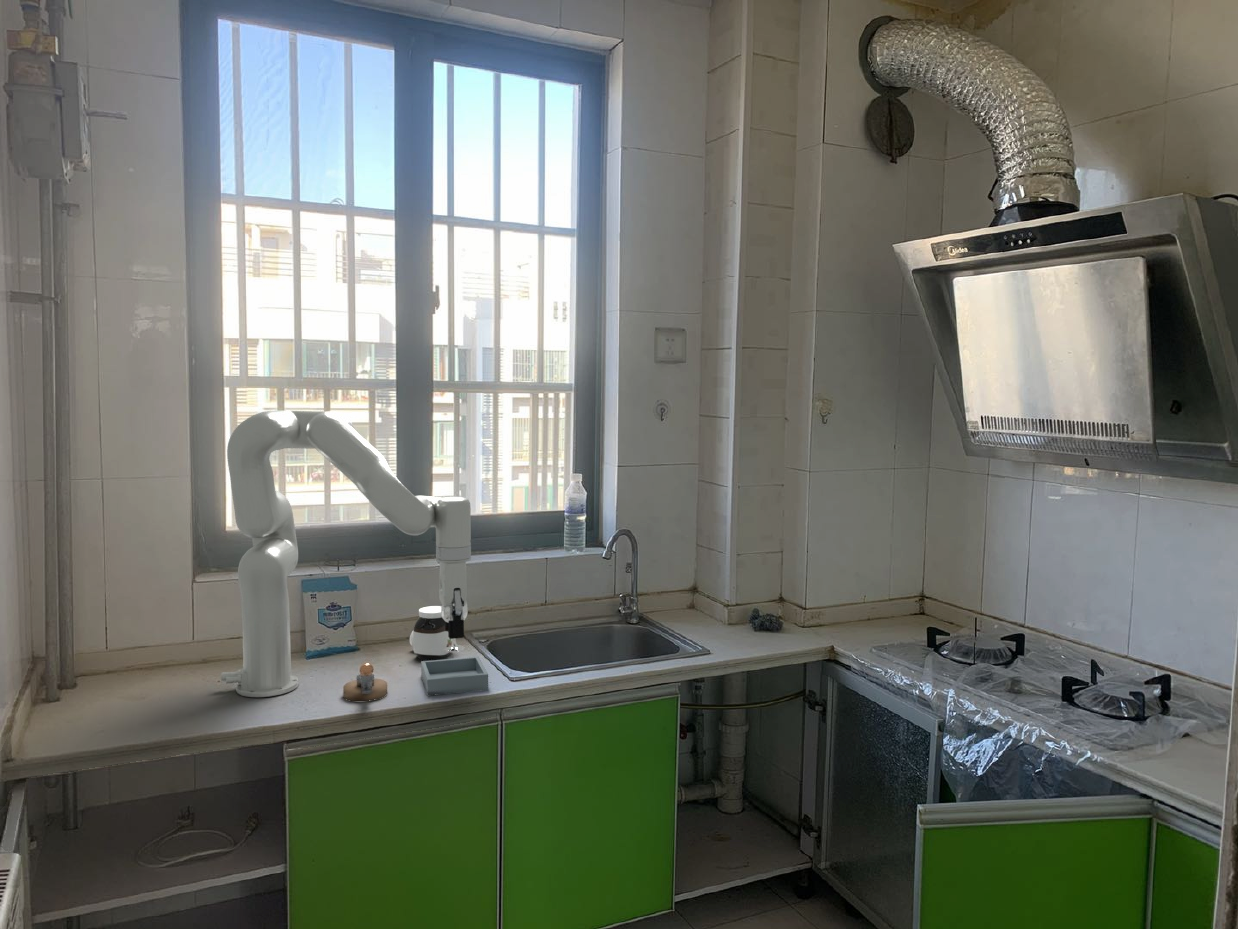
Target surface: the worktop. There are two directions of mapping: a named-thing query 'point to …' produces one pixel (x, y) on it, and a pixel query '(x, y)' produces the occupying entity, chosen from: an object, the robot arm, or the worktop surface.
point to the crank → (366, 678)
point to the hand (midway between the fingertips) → (454, 633)
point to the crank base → (355, 694)
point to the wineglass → (446, 617)
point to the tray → (454, 675)
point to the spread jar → (430, 635)
